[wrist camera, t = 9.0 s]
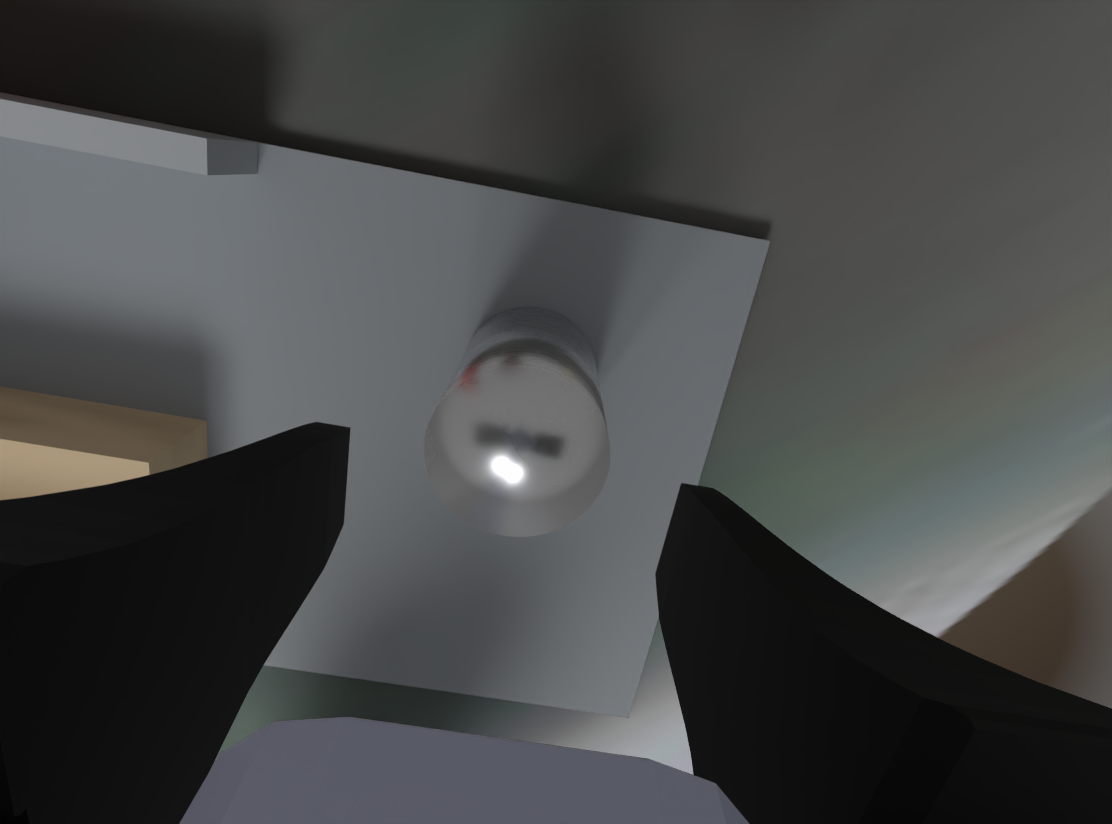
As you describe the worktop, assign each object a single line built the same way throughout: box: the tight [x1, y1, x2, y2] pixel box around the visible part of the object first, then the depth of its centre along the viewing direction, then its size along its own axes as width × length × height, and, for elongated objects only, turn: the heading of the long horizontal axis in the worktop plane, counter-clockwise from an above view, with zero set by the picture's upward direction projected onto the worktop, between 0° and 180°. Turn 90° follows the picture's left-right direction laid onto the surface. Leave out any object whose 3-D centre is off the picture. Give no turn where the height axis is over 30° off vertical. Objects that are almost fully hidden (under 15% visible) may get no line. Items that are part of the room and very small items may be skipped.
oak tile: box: [0, 387, 208, 500], centre depth 19 cm, size 7×7×3 cm
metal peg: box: [424, 306, 610, 537], centre depth 16 cm, size 4×4×6 cm
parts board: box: [0, 92, 770, 718], centre depth 19 cm, size 18×25×3 cm
